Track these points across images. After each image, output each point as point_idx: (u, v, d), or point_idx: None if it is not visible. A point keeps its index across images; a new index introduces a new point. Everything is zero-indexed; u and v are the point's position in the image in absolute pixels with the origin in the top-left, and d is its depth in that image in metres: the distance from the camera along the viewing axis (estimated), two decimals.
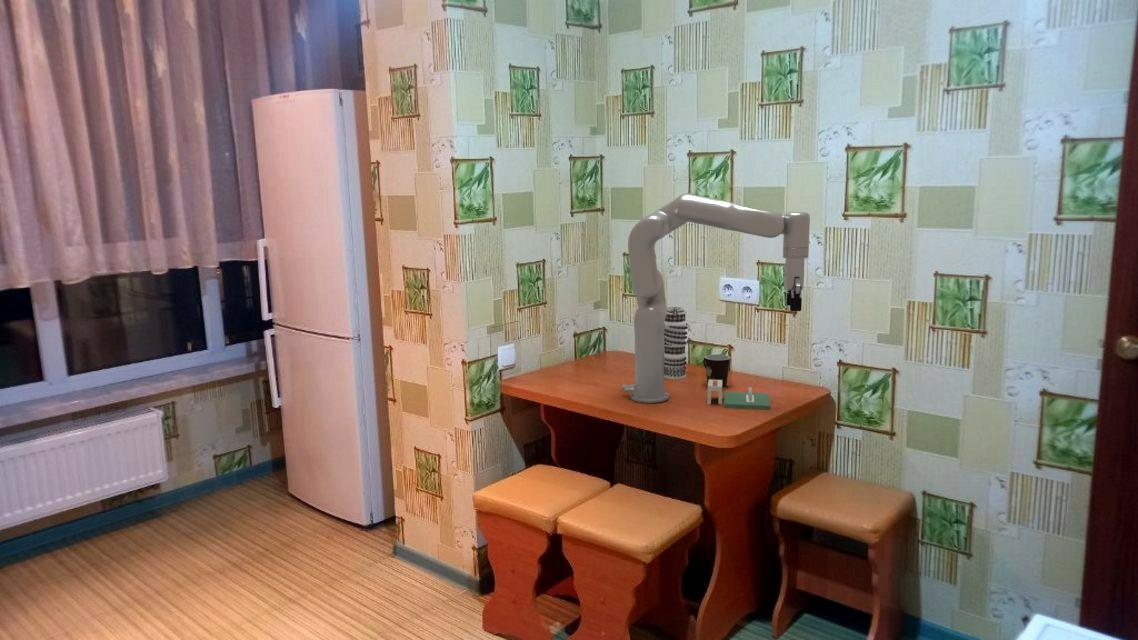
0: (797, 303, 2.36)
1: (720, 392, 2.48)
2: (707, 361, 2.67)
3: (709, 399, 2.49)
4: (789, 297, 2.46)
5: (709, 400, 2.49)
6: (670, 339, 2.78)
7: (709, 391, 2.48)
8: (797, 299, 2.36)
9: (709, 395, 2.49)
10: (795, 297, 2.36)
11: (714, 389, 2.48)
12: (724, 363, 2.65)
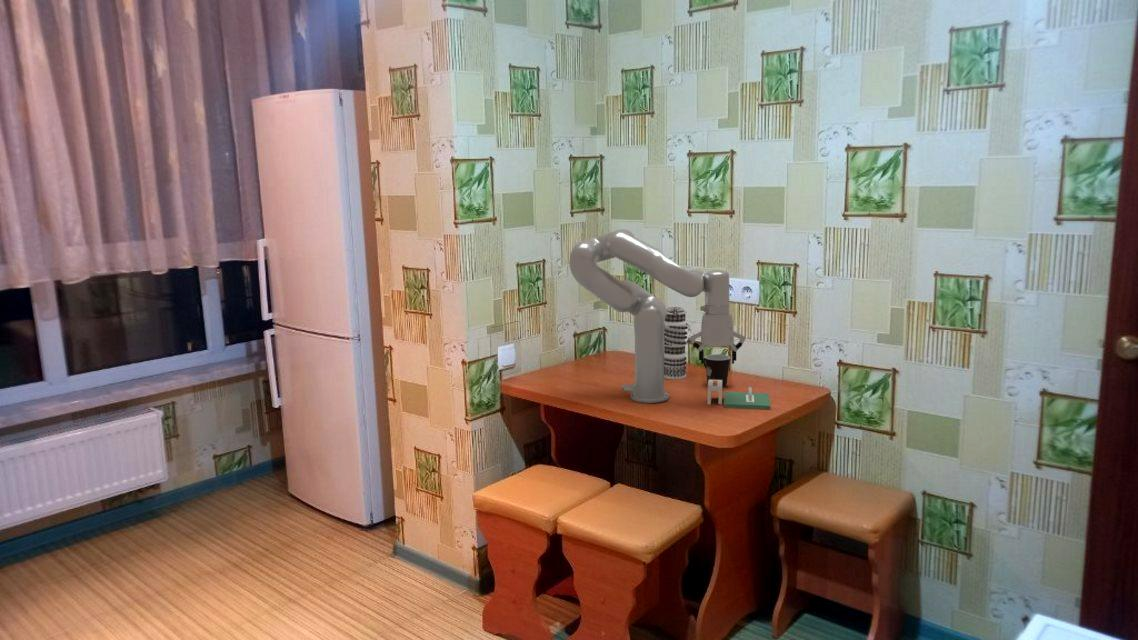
0: None
1: (720, 392, 2.48)
2: (707, 361, 2.67)
3: (709, 399, 2.49)
4: (703, 355, 2.50)
5: (709, 400, 2.49)
6: (670, 339, 2.78)
7: (709, 391, 2.48)
8: None
9: (709, 395, 2.49)
10: (737, 349, 2.48)
11: (714, 389, 2.48)
12: (724, 363, 2.65)
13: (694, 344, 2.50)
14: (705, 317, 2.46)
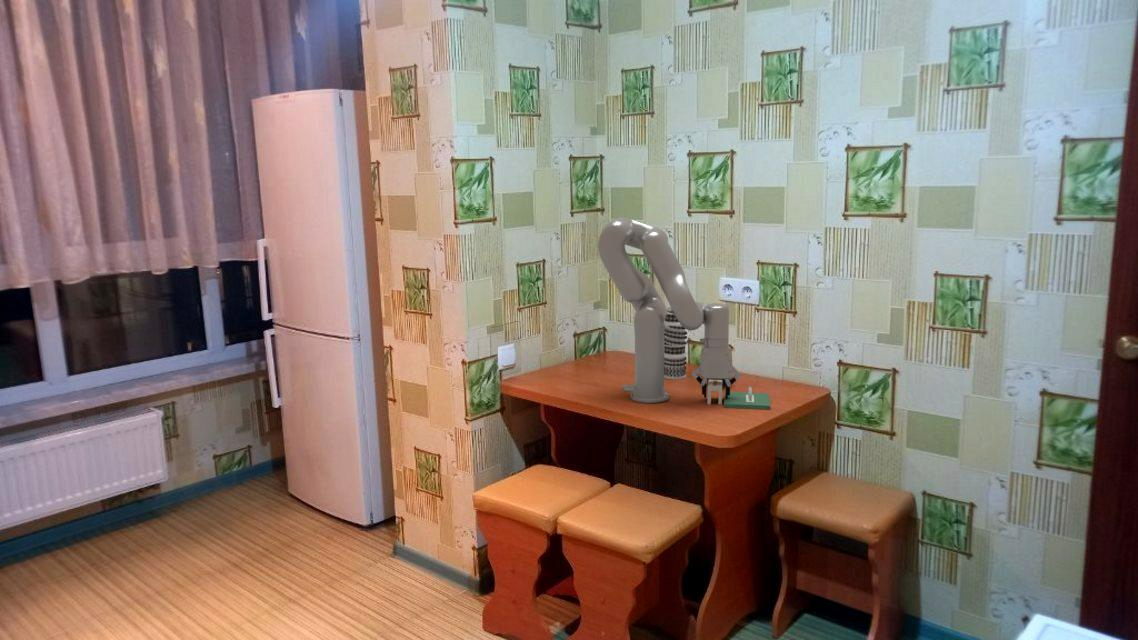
0: (729, 390, 2.51)
1: (720, 392, 2.48)
2: None
3: (709, 399, 2.49)
4: (706, 389, 2.52)
5: (709, 400, 2.49)
6: (670, 339, 2.78)
7: (709, 391, 2.48)
8: None
9: (709, 395, 2.49)
10: None
11: (714, 390, 2.48)
12: None
13: (697, 378, 2.52)
14: (704, 350, 2.48)
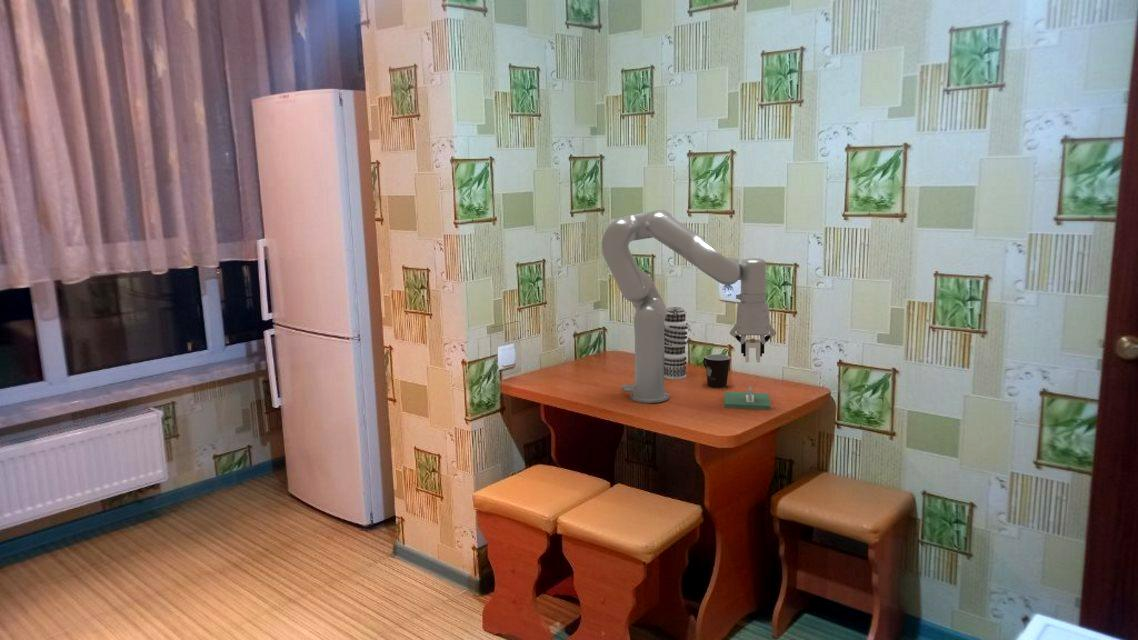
0: None
1: (758, 349, 2.43)
2: (707, 361, 2.67)
3: (747, 357, 2.44)
4: (745, 348, 2.47)
5: (747, 358, 2.44)
6: (670, 339, 2.78)
7: (747, 348, 2.44)
8: None
9: (747, 352, 2.44)
10: (765, 342, 2.46)
11: (752, 347, 2.43)
12: (724, 363, 2.65)
13: (736, 337, 2.47)
14: (741, 306, 2.43)
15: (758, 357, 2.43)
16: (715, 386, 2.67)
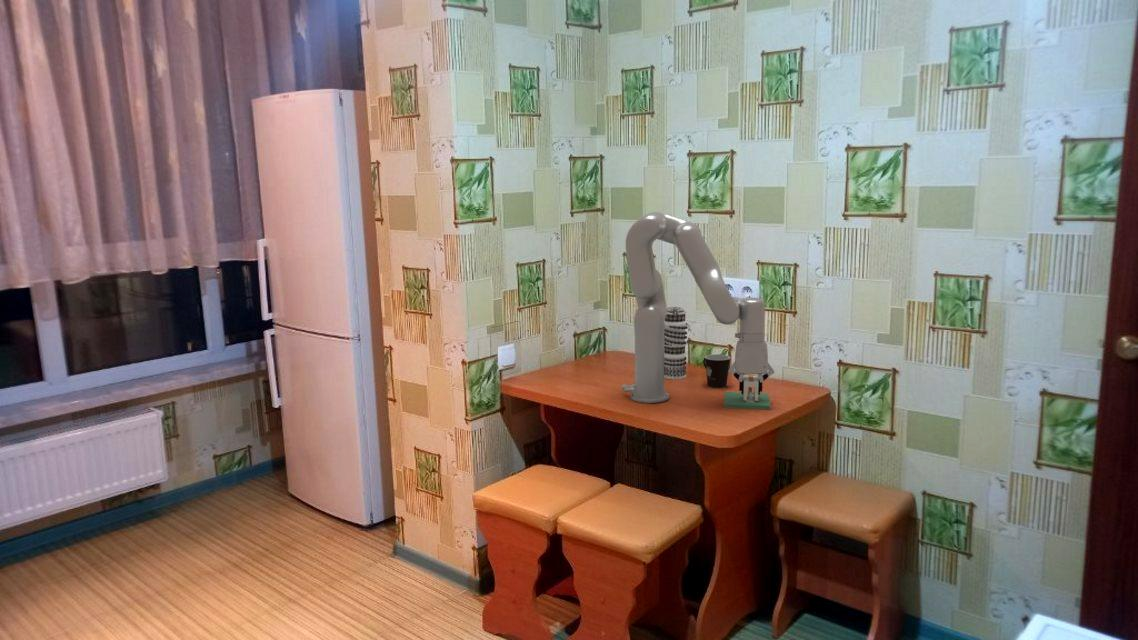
0: None
1: (756, 388, 2.45)
2: (707, 361, 2.67)
3: (745, 395, 2.46)
4: (743, 385, 2.49)
5: (745, 396, 2.46)
6: (670, 339, 2.78)
7: (745, 387, 2.46)
8: None
9: (745, 391, 2.46)
10: None
11: (750, 385, 2.45)
12: (724, 363, 2.65)
13: (735, 374, 2.49)
14: (740, 344, 2.45)
15: (756, 396, 2.46)
16: (715, 386, 2.67)
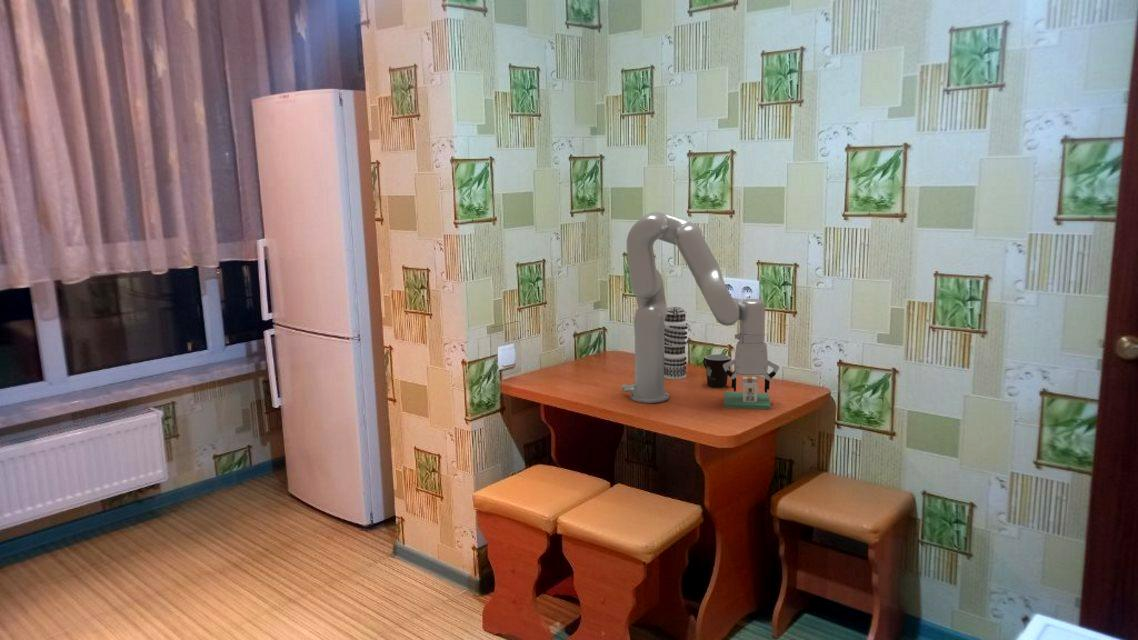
0: None
1: (755, 389, 2.45)
2: (707, 361, 2.67)
3: (744, 396, 2.47)
4: None
5: (744, 397, 2.47)
6: (670, 339, 2.78)
7: (744, 388, 2.46)
8: (769, 380, 2.48)
9: (744, 392, 2.46)
10: None
11: (749, 387, 2.46)
12: (724, 363, 2.65)
13: (727, 372, 2.49)
14: (739, 345, 2.45)
15: (755, 397, 2.46)
16: (715, 386, 2.67)
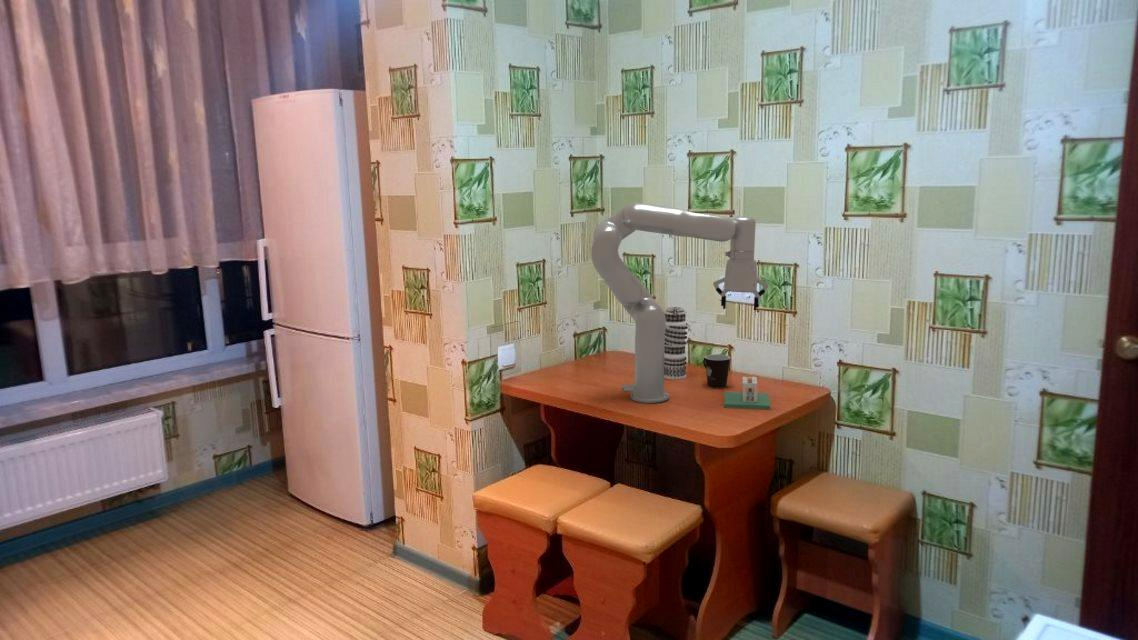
0: (758, 302, 2.51)
1: (755, 389, 2.45)
2: (707, 361, 2.67)
3: (744, 396, 2.47)
4: (725, 300, 2.52)
5: (744, 397, 2.47)
6: (670, 339, 2.78)
7: (744, 388, 2.46)
8: (758, 298, 2.51)
9: (744, 392, 2.46)
10: (759, 296, 2.50)
11: (749, 387, 2.46)
12: (724, 363, 2.65)
13: (717, 289, 2.52)
14: (729, 262, 2.48)
15: (755, 397, 2.46)
16: (715, 386, 2.67)
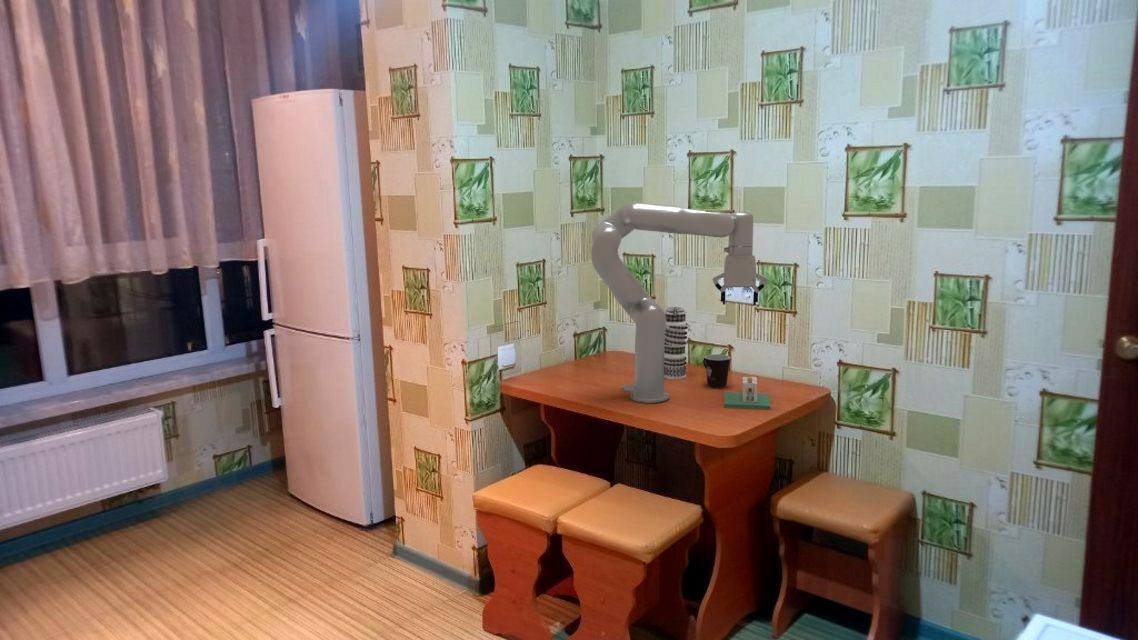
0: (757, 296, 2.52)
1: (755, 389, 2.45)
2: (707, 361, 2.67)
3: (744, 396, 2.47)
4: None
5: (744, 397, 2.47)
6: (670, 339, 2.78)
7: (744, 388, 2.46)
8: None
9: (744, 392, 2.46)
10: None
11: (749, 387, 2.46)
12: (724, 363, 2.65)
13: (716, 285, 2.53)
14: (728, 258, 2.49)
15: (755, 397, 2.46)
16: (715, 386, 2.67)
